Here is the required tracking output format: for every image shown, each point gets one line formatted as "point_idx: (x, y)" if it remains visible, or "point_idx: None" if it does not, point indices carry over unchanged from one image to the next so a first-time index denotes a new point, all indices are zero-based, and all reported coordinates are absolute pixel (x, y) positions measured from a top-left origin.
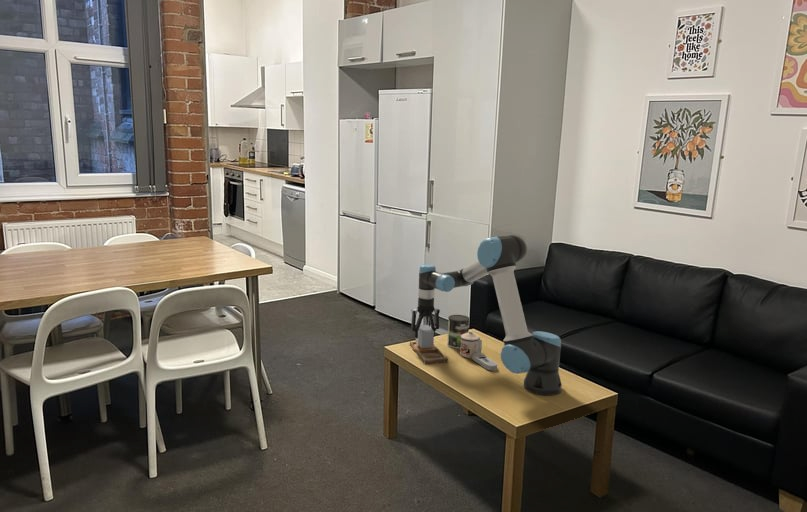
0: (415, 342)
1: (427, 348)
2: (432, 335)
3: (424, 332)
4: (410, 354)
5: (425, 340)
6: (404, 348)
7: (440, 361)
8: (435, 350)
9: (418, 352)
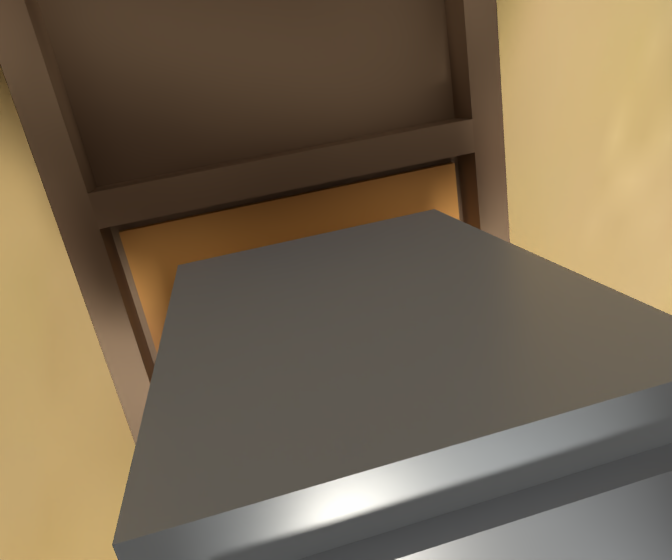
0: None
1: None
2: (204, 389)
3: (618, 368)
4: (576, 126)
5: (410, 270)
6: None
7: None
8: (136, 182)
9: (497, 59)
